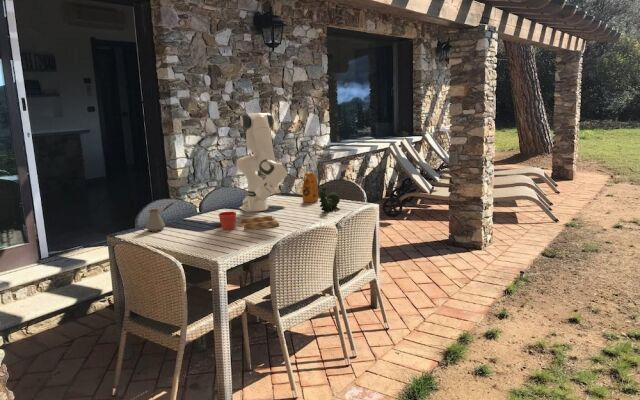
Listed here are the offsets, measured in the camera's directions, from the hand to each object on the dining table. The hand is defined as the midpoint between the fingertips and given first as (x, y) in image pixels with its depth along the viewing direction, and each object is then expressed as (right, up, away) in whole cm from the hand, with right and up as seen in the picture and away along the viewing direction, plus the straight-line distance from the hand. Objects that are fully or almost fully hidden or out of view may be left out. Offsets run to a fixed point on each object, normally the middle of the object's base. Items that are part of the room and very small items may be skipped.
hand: (253, 202), depth 310 cm
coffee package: (+34, 0, +70) cm, 78 cm away
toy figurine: (+49, -5, +38) cm, 62 cm away
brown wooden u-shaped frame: (+3, -14, +3) cm, 15 cm away
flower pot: (-15, -16, -2) cm, 22 cm away
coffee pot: (-59, -17, +6) cm, 61 cm away
